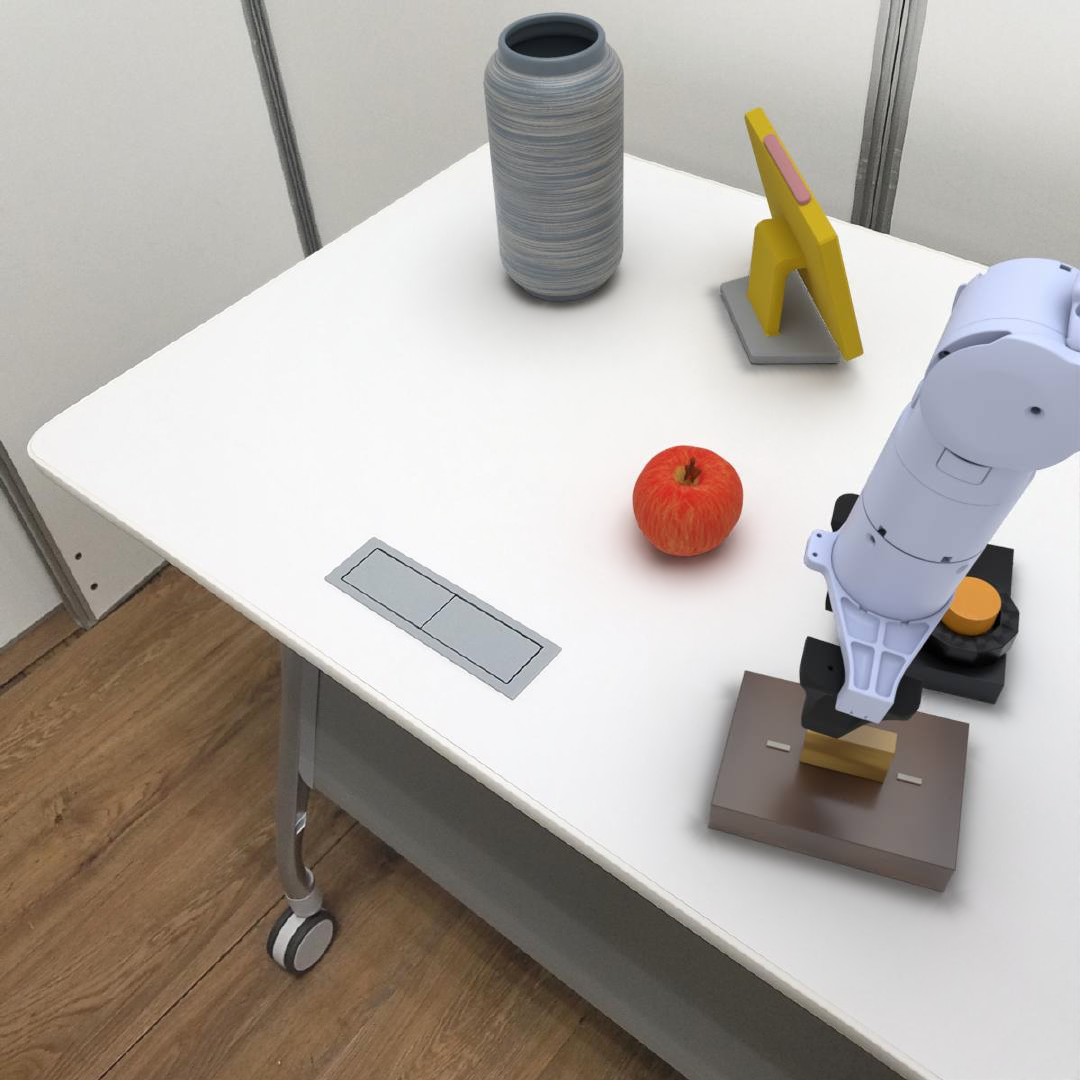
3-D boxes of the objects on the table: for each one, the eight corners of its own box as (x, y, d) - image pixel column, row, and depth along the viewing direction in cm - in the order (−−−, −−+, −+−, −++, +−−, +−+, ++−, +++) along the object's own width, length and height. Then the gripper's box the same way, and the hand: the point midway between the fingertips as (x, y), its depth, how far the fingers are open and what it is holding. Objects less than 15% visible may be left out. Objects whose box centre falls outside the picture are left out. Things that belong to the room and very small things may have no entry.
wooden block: (886, 763, 66) (898, 731, 63) (883, 783, 65) (895, 751, 62) (803, 742, 67) (811, 709, 64) (799, 761, 66) (807, 729, 64)
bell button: (996, 599, 73) (1003, 582, 72) (992, 641, 71) (999, 625, 69) (940, 587, 74) (945, 571, 72) (934, 629, 72) (940, 613, 70)
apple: (700, 480, 86) (707, 405, 80) (759, 548, 82) (770, 473, 76) (612, 517, 84) (612, 443, 78) (666, 589, 80) (670, 515, 73)
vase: (509, 238, 110) (489, 4, 92) (625, 239, 108) (627, 2, 91) (495, 310, 102) (470, 70, 85) (620, 312, 101) (620, 69, 84)
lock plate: (958, 747, 70) (970, 721, 68) (943, 892, 64) (956, 869, 61) (740, 695, 73) (745, 668, 71) (707, 827, 67) (710, 803, 65)
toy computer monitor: (857, 387, 93) (892, 224, 81) (766, 400, 92) (789, 239, 80) (786, 252, 106) (807, 95, 94) (706, 263, 105) (718, 107, 93)
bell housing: (1009, 569, 79) (1025, 532, 76) (999, 705, 72) (1015, 670, 69) (864, 539, 82) (874, 503, 79) (840, 668, 74) (850, 633, 71)
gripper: (860, 375, 52) (785, 543, 63) (809, 612, 44) (731, 759, 55) (1007, 418, 52) (905, 580, 62) (984, 668, 43) (870, 806, 54)
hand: (832, 667), depth 59 cm, fingers open, 7 cm apart
